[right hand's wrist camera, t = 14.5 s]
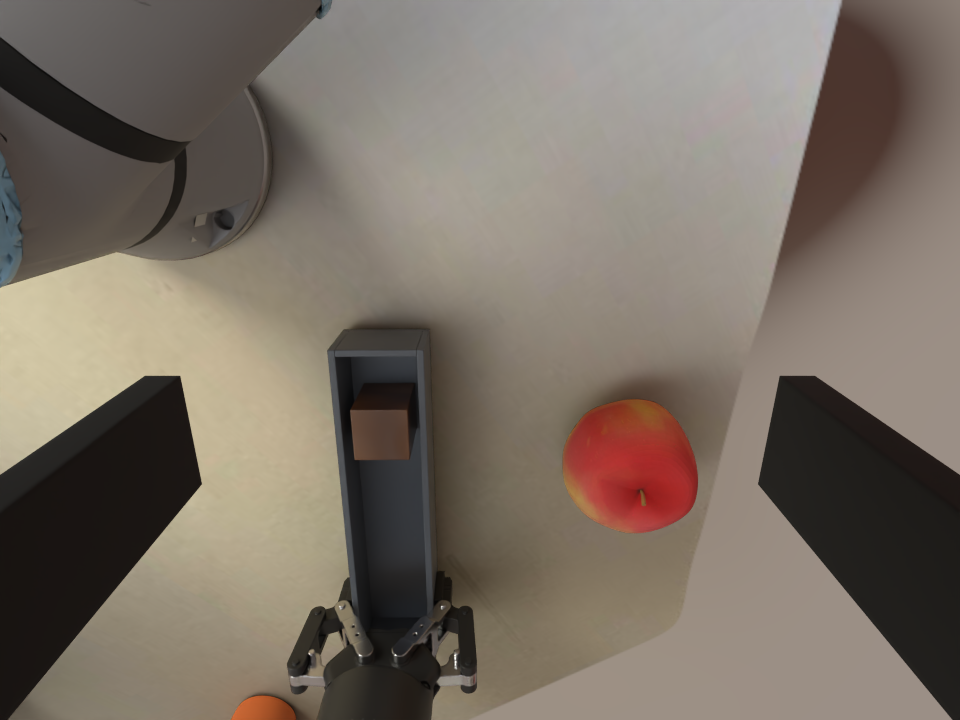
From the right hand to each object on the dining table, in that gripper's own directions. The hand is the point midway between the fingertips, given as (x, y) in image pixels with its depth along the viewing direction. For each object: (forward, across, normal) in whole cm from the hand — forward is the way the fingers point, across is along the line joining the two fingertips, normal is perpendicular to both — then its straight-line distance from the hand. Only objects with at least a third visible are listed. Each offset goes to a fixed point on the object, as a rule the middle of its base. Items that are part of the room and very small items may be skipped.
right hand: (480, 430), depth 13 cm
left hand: (+29, -7, -30) cm, 42 cm away
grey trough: (+30, -7, -21) cm, 37 cm away
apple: (+31, +11, -16) cm, 36 cm away
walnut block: (+29, -7, -13) cm, 33 cm away
